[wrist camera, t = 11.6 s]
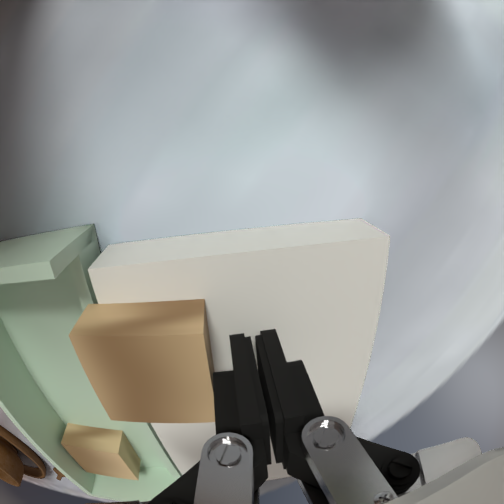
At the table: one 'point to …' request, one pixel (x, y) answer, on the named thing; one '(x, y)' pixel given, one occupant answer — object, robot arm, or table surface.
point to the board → (264, 303)
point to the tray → (62, 361)
